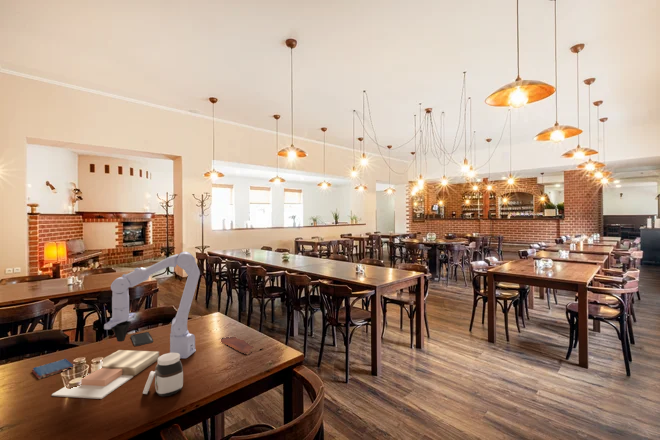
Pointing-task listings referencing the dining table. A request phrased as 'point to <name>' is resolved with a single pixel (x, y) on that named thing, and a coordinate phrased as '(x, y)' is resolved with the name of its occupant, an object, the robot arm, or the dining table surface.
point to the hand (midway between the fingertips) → (121, 340)
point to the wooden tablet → (237, 344)
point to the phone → (141, 338)
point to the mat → (92, 389)
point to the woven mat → (51, 368)
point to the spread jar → (166, 375)
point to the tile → (101, 377)
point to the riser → (130, 361)
